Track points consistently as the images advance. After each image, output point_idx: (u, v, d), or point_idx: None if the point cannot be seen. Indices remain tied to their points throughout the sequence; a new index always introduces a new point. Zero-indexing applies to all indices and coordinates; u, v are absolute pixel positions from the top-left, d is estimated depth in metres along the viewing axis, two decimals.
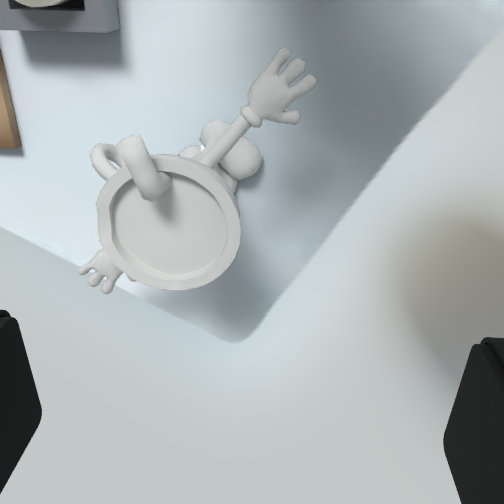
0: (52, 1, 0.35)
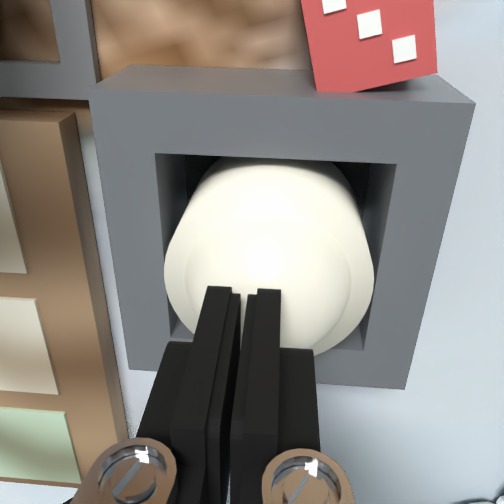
0: None
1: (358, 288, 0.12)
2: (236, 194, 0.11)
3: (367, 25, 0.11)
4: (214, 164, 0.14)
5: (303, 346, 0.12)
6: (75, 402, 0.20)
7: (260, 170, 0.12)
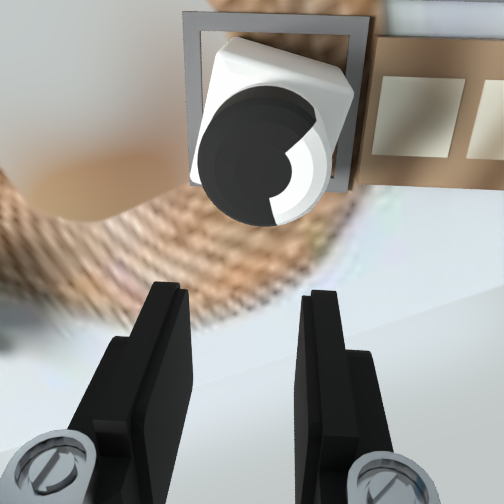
0: None
1: None
2: None
3: None
4: None
5: None
6: None
7: None
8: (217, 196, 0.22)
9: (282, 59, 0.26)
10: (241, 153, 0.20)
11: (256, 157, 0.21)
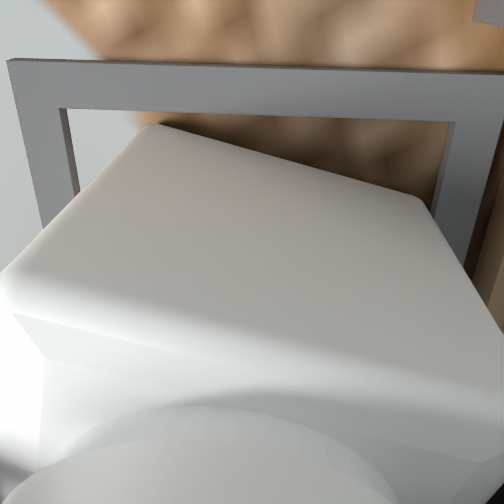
0: None
1: None
2: None
3: None
4: None
5: None
6: None
7: None
8: None
9: (273, 230, 0.08)
10: None
11: None
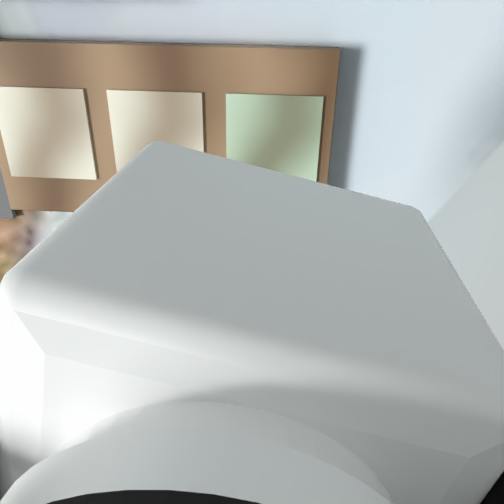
0: None
1: None
2: None
3: None
4: None
5: None
6: (213, 80, 0.24)
7: None
8: None
9: (268, 237, 0.08)
10: None
11: None
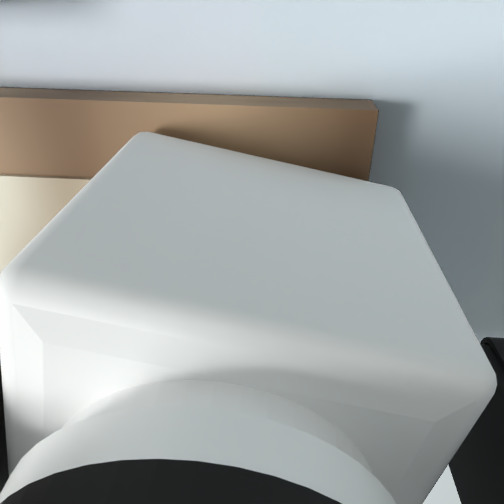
0: None
1: None
2: None
3: None
4: None
5: None
6: None
7: None
8: None
9: (249, 224, 0.09)
10: None
11: None
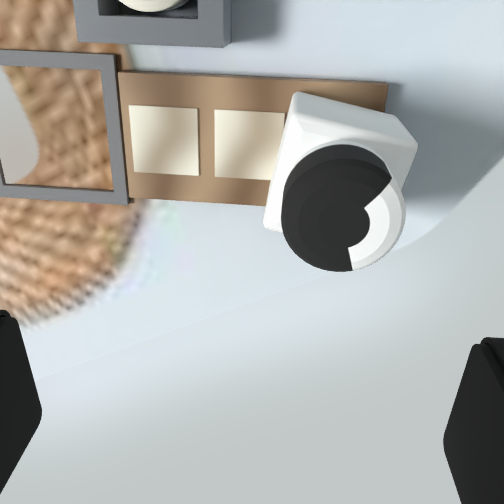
0: None
1: None
2: None
3: None
4: None
5: None
6: None
7: None
8: (299, 246, 0.24)
9: (347, 114, 0.28)
10: (324, 208, 0.23)
11: (338, 212, 0.23)
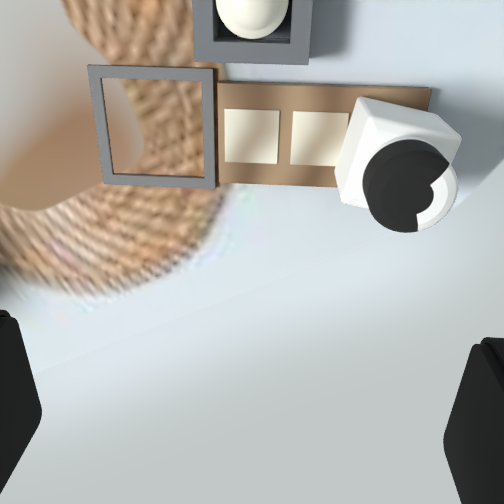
0: None
1: None
2: (218, 10, 0.36)
3: None
4: None
5: None
6: None
7: None
8: (380, 214, 0.33)
9: (404, 115, 0.37)
10: (401, 186, 0.32)
11: (411, 188, 0.32)
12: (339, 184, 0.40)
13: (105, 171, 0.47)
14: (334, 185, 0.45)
